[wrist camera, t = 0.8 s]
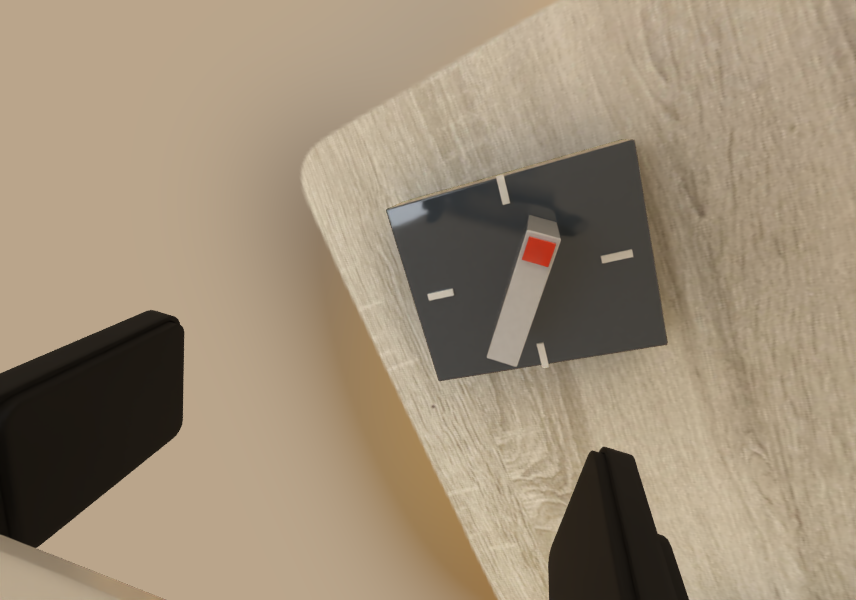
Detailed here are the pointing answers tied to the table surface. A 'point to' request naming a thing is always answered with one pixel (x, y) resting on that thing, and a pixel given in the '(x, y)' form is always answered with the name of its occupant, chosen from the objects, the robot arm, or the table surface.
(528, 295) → the tap lever
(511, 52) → the table surface
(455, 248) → the base
